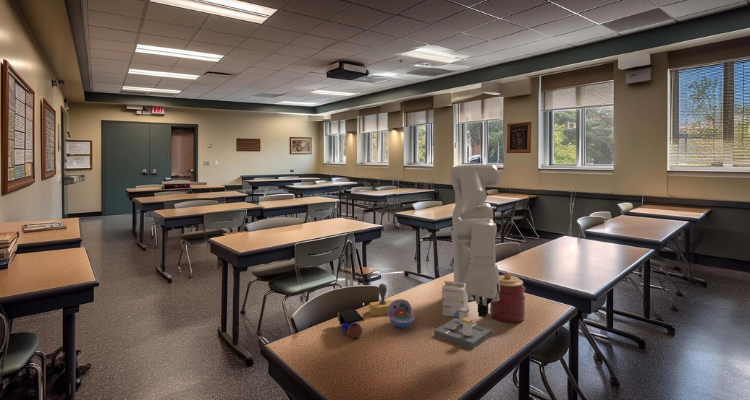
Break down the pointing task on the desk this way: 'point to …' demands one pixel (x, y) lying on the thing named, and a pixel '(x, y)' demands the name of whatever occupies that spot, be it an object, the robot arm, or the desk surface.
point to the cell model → (400, 313)
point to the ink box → (454, 298)
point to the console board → (455, 333)
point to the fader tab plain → (463, 313)
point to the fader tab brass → (467, 326)
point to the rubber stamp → (380, 303)
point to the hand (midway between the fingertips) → (482, 315)
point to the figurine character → (350, 322)
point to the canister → (509, 300)
